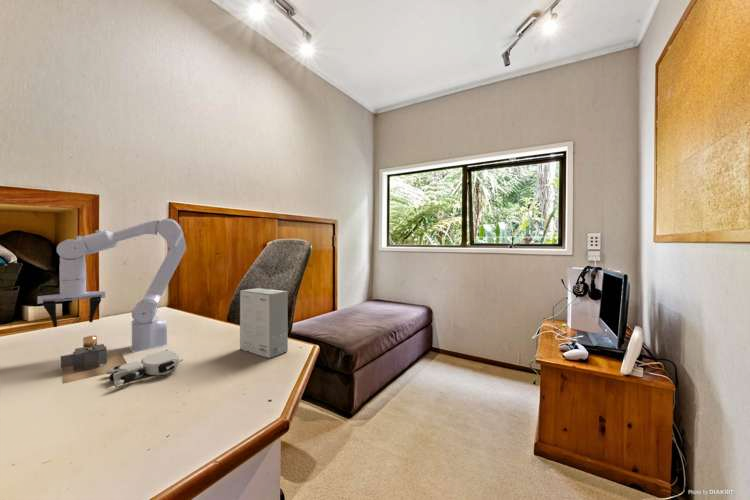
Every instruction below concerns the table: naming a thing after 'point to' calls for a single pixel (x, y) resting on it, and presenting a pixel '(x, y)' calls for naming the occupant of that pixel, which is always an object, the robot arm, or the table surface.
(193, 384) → the table surface
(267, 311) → the hard drive box
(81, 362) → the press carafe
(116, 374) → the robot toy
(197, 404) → the table surface
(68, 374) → the walnut board
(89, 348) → the plunger
